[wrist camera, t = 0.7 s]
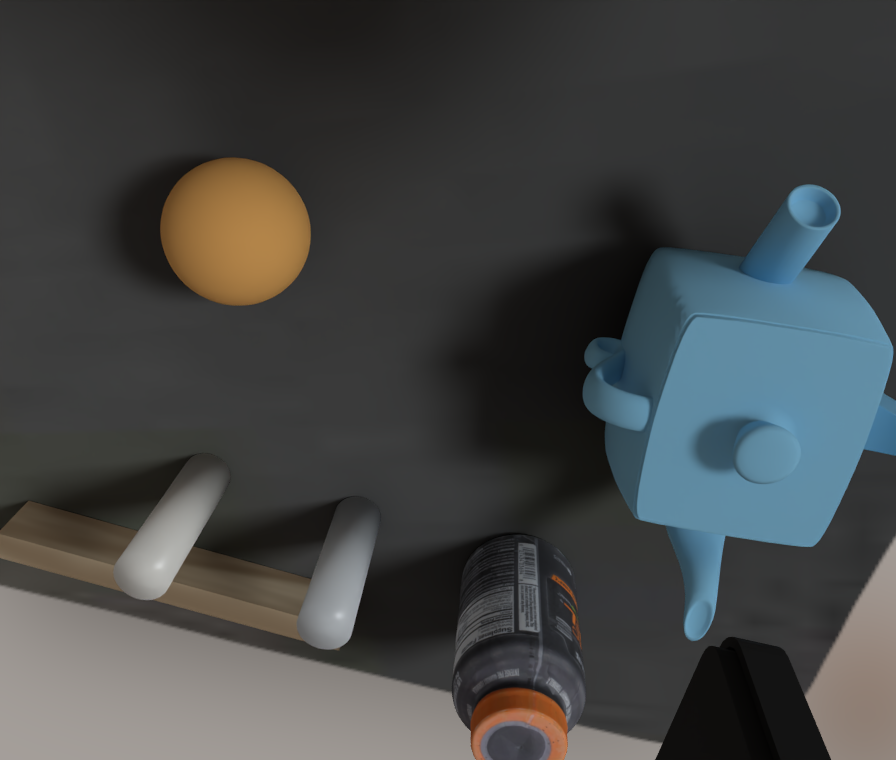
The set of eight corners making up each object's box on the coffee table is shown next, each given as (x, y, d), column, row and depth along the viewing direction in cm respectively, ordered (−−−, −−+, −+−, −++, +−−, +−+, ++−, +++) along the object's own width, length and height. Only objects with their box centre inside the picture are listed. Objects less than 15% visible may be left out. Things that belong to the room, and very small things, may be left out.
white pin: (188, 447, 43) (116, 547, 35) (234, 460, 43) (172, 562, 35) (181, 486, 44) (110, 591, 36) (226, 498, 44) (165, 606, 36)
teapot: (616, 130, 35) (651, 178, 26) (951, 183, 35) (1106, 250, 26) (535, 494, 43) (541, 631, 34) (812, 539, 43) (893, 689, 33)
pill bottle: (579, 618, 46) (597, 799, 35) (470, 625, 46) (457, 805, 36) (568, 525, 43) (585, 690, 33) (454, 535, 44) (434, 700, 34)
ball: (202, 128, 36) (146, 152, 31) (337, 169, 37) (306, 200, 31) (181, 258, 39) (126, 301, 33) (308, 296, 39) (274, 344, 34)
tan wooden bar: (28, 500, 45) (-3, 533, 42) (355, 591, 46) (345, 629, 43) (26, 523, 46) (-5, 556, 43) (349, 612, 47) (338, 650, 44)
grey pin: (340, 490, 43) (302, 598, 36) (385, 503, 44) (357, 614, 36) (330, 528, 44) (291, 640, 37) (374, 540, 45) (345, 655, 37)
